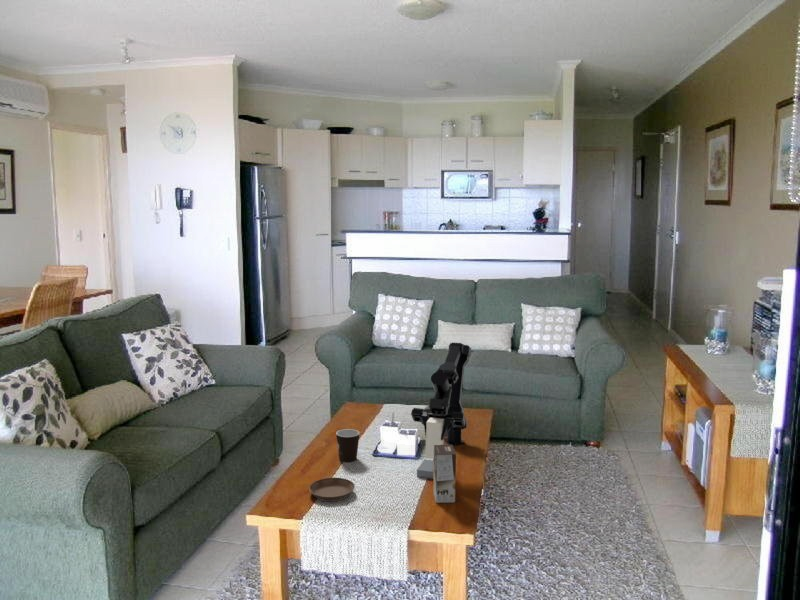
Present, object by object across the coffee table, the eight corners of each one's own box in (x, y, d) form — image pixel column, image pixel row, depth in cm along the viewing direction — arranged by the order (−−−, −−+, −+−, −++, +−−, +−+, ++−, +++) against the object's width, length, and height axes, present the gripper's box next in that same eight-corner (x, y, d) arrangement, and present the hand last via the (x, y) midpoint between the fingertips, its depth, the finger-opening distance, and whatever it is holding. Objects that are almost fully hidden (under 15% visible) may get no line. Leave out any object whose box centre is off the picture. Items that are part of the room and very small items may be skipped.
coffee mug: (356, 464, 248) (356, 437, 246) (333, 462, 249) (333, 436, 248) (364, 452, 259) (364, 427, 257) (342, 451, 261) (342, 425, 259)
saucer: (313, 506, 214) (313, 498, 213) (305, 487, 228) (305, 480, 227) (359, 501, 218) (359, 493, 218) (349, 482, 232) (349, 475, 232)
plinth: (424, 466, 246) (424, 459, 246) (451, 469, 244) (451, 462, 243) (416, 476, 237) (417, 469, 237) (445, 480, 234) (445, 473, 234)
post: (429, 452, 243) (430, 417, 241) (443, 454, 241) (443, 418, 239) (425, 457, 238) (426, 421, 236) (439, 459, 237) (440, 423, 235)
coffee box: (455, 502, 217) (456, 454, 215) (435, 503, 216) (436, 454, 214) (451, 490, 226) (452, 444, 224) (432, 491, 226) (433, 444, 223)
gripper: (412, 385, 242) (403, 425, 234) (464, 390, 237) (457, 431, 228) (418, 401, 251) (409, 440, 242) (468, 405, 246) (461, 445, 237)
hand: (433, 439), depth 237 cm, fingers closed on post, 5 cm apart
